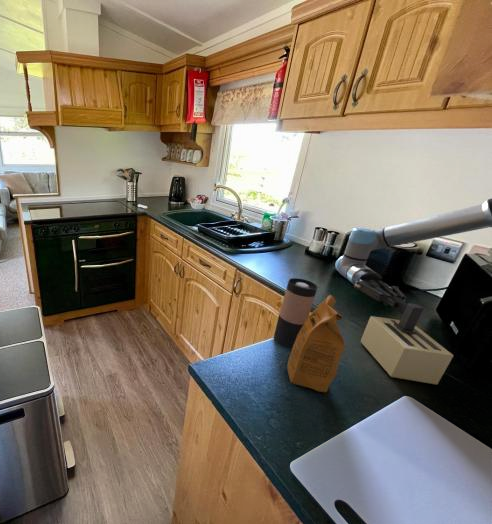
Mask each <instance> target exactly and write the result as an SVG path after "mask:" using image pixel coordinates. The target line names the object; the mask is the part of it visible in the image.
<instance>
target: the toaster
mask: <svg viewBox="0 0 492 524" xmlns="http://www.w3.org/2000/svg"><path fill="white" fill-rule="evenodd" d="M400 320H401V319H394V318H389V317H381V316H373V315H371V316H370V317H369V319H368V321H367V324H366V326H365V329H364V332H363V333H362V336H361V339H360V341H359V342H360V343H361V344H362V345H363V347H364V348H365V349H366V350H367V351H368V352H369V354H371V356H372V357H373V358H374V359H375V360H376V361H377V362H378V364H379V365H380V366H381V367H382V368H383V370H384V371H386V373H387V374H388V375H389V376H390V377H391V378H394V379H395V378H396V379H401V380H407V381H413V382H417V383H425V384H430V385H431V384H432V385H439V382H440V381H441V379H442V377H443V376H444V374H445V372H446V370H447V368H448V367H449V365H450V363H451V361H452V359H454V354H453V353H451V352H450V351H448V350H447V349H446V348H445V347H444V346H443V345H441V344H440V343H439V342H437V341H436V340H435V339H434V338H432V337H431V336H430V335H429V334H427V333H425V332H424V331H423V330H422V329H420V328H419V327H418V326H417V325H416V326H415V328H414V331H416V332H417V334H410V333H403V332H401V331H400V330H399V329H398V328H397V327H396V326H394V323H397V324H399V322H400Z"/></svg>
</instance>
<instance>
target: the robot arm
mask: <svg viewBox="0 0 492 524" xmlns="http://www.w3.org/2000/svg"><path fill="white" fill-rule="evenodd" d="M489 228H492V198H489V199H486V200H485V201H484V202H483V203H481V204H477V205H473V206H470V207H469V206H468V207H464V208H461V209H456V210H453V211H449V212H444V213H440V214H436V215H432V216H429V217H423V218H420V219H415V220H412V221H408V222H404V223H399V224H395V225H391V226H388V227H384V228H379V229H374V230H373V229H370V228H366V227H365V228H364V227H354V228H353V229H352V230H351V233H350V235H349V237H348V241H347V244H346V247H345V250H344V253H343V255H342V256H340V257H339V258H338V259H337V260H336V261H335V265H334V266H335V269H336V271H337V272H338V273H339V274H340V275H341V276H343V277H344V278H345V279H347V280H348V281H349V282H350V283H352V285H353V288H354V289H356V290H358V291H360V292H362V293H363V294H365V295H367V296H369V297H370V298H372V299H373V300H375V301H377V302H380V303H381V302H383V305H384V306H389V305H390V306H391V307H392V308H393V309H395V310H396V311H398V313H400V314H401V315H403V313H404V311H405V309H406V307H407V304H408V303H407V302H406V300H407V296H406V295H405V294H404V293H403V291H401V290H400V289H399V286H398V285H392V286H389V284H387V283H386V282H384V281H383V278H382V276H381V275H380V274H379V273H377V272H376V271H374V270H373V269H371V268H370V267H368V266H367V265H366V264H367V261H368V259H369V257H370V253H371V252H373V251H376V250H380V249H381V250H382V249H386V248H390V247H395V246H401V245H406V244H410V243H416V242H421V241H425V240H432V239H438V238H442V237H447V236H453V235H457V234H462V233H467V232H472V231H477V230H478V231H479V230H482V229H489Z"/></svg>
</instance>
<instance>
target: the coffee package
mask: <svg viewBox="0 0 492 524" xmlns="http://www.w3.org/2000/svg"><path fill="white" fill-rule="evenodd" d="M336 302H337V301H336V299H335V296H333V295H331V294H330V295H328V296H327V297H325V299H324V300H323V301H322V302H320V303H319V305H318V306H317V307H316V308H315V309H313V311H311V312H310V314H309V317H308V318H307V320H306V322H305V323H304V325H303V327H302V328H301V330H300V331H299V333H298V335H297V338H296V340H295V343H294V345H293V348H291V351H290V354H289V357H288V361H287V364H286V365H287V366H286V367H287V373H288V377H289V378H288V379H289V382H290V383H292V384H293V385H296V386H299V387H304V388H309V389H312V390H314V391H316V392H319V393H321V392H322V393H328V390H329V388H330V385H331V384H332V382H333V380H334V379H335V377H336V376H337V373H338V367H339V364H340V362H341V359H342V357H343V353H344V350H345V347H346V344H345V341H344V337H343V335H342V333H341V330H340V328H339V325H338V321H342V320H343V316H342V314H340V313H339V312H338V311H336V310H335V309H333V307H334V305H335V304H336ZM337 320H338V321H337Z"/></svg>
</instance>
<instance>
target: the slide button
mask: <svg viewBox="0 0 492 524" xmlns="http://www.w3.org/2000/svg"><path fill="white" fill-rule="evenodd" d="M423 311H424V307H423V306H421V305H419V304H417V303H409V302H408V303H407V307H406V309H405V311H404V313H403V314H401V315H402V316H401V318H400V319H399V320H400V322H399V324H397V323H394V326H396V327H397V328H398V329H399V330H400V331H401V332H403V333H410V334H417V332H416V331H414V328H415V326H417V323H418V321H419V319H420V317H421V315H422V314H423Z"/></svg>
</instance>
